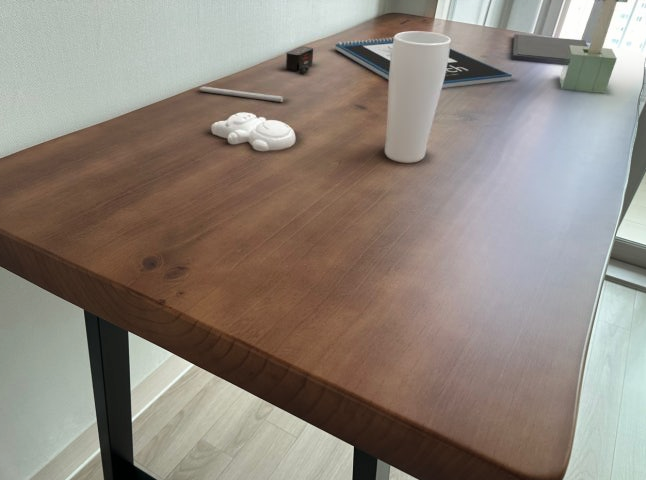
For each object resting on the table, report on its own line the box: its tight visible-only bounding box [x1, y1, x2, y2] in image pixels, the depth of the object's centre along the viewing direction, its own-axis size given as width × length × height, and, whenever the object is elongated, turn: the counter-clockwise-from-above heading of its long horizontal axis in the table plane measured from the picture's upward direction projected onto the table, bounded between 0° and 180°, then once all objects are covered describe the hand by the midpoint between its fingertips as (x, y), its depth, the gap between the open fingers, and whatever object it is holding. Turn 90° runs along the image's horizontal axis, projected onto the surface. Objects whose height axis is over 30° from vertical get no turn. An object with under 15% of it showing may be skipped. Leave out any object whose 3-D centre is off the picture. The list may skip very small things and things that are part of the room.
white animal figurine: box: [210, 111, 296, 152], centre depth 80 cm, size 9×12×3 cm
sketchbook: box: [334, 36, 513, 89], centre depth 113 cm, size 22×30×2 cm
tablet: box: [511, 33, 589, 66], centre depth 122 cm, size 15×20×1 cm
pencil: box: [198, 86, 284, 103], centre depth 95 cm, size 1×1×15 cm
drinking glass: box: [384, 30, 452, 164], centre depth 72 cm, size 7×7×15 cm
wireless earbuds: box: [285, 45, 314, 74], centre depth 108 cm, size 5×7×3 cm, turn 149°
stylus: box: [588, 0, 618, 54], centre depth 97 cm, size 2×2×14 cm
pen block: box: [559, 45, 618, 94], centre depth 102 cm, size 7×7×6 cm
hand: (610, 1), depth 95 cm, fingers closed on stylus, 2 cm apart
